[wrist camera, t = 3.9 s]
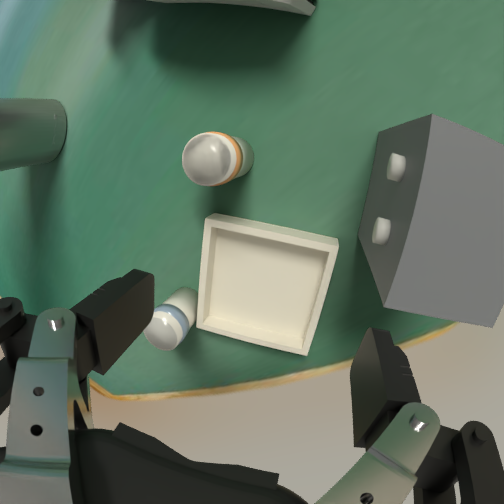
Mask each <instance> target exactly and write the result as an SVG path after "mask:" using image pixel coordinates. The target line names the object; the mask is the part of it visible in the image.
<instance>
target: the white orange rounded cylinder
mask: <svg viewBox="0 0 504 504" xmlns="http://www.w3.org/2000/svg"><path fill="white" fill-rule="evenodd" d="M253 161H254V153H253V150H252V147H251V146H250V144H249V143H248V142H247V141H245V140H244V139H242V138H239V137H234V136H230V135H228V134H225V133H219V132H207V133H202V134H199V135H197V136H195V137H193V138H192V139H191V140H190V141H189V142H188V143H187V145H186V146H185V148H184V151H183V155H182V164H183V168H184V171H185V173H186V175H187V176H188V177H189V178H190V179H191V180H192V181H193V182H195V183H197V184H199V185H203V186H218V185H221V184H224V183H227V182H229V181H231V180H232V179H234V178H237V177H240V176H243V175H244V174H246V173H247V172H248V171H249V170H250V168H251V167H252V165H253Z"/></svg>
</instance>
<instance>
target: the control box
mask: <svg viewBox="0 0 504 504" xmlns="http://www.w3.org/2000/svg"><path fill="white" fill-rule="evenodd" d="M358 237H359V240H360V242H361V245H362V248H363V250H364V253H365V255H366V258H367V261H368V263H369V266H370V269H371V272H372V274H373V277H374V280H375V283H376V286H377V289H378V291H379V294H380V297H381V300H382V303H383V306H384V307H386V308H391V309H395V310H400V311H405V312H410V313H416V314H421V315H426V316H431V317H436V318H442V319H447V320H452V321H458V322H463V323H469V324H475V325H480V326H485V327H491V328H492V327H493V325H494V324H495V322H496V320H497V317H498V315H499V313H500V311H501V309H502V306H503V304H504V145H503V144H501V143H499V142H497V141H495V140H493V139H490V138H488V137H486V136H484V135H482V134H480V133H478V132H476V131H473V130H471V129H469V128H466V127H464V126H462V125H459V124H457V123H454V122H452V121H449V120H447V119H444V118H442V117H439V116H436V115H434V114H430V115H427V116H424V117H421V118H418V119H415V120H412V121H409V122H406V123H403V124H400V125H397V126H394V127H392V128H389V129H386V130H383V131H380V132H379V134H378V141H377V146H376V152H375V157H374V163H373V168H372V173H371V178H370V183H369V188H368V192H367V197H366V201H365V206H364V210H363V214H362V219H361V223H360V227H359V231H358Z"/></svg>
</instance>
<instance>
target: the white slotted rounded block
mask: <svg viewBox="0 0 504 504" xmlns="http://www.w3.org/2000/svg"><path fill="white" fill-rule="evenodd" d="M148 1H155V2H162V3H220V4H235V5H246V6H255V7H263V8H270V9H276V10H282V11H288V12H293V13H298V14H303V15H308V16H311V15H312V13H313V11H314V9H315V8H316V7H315V6H314V5H313V2H312V1H311V0H148Z"/></svg>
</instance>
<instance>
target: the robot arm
mask: <svg viewBox="0 0 504 504" xmlns="http://www.w3.org/2000/svg"><path fill="white" fill-rule="evenodd" d="M66 124H67V122H66V114H65V111H64V108H63V106H62V105H61V103H60V102H59V101H57V100H54V99H33V98H1V99H0V171H5V170H9V169H14V168H19V167H25V166H31V165H36V164H42V163H47V162H51V161H52V160H54V159H55V158H56V156H57V155H58V154H59V152H60V150H61V148H62V146H63V143H64V140H65V135H66ZM153 314H154V276H153V274H151V273H148V272H144V271H141V270H137V269H133V270H131V271H130V272H129V273H127V274H126V275H125V276H123V277H122V278H121V277H119V278H116V279H113V280H111V281H108V282H107V283H105V284H104V285H102V286H101V287H100V289H97V290H95V291H94V292H93V294H90V295H89V296H87V297H86V298H84V299H83V300H82V301H80V302H79V303H78V304H76V305H75V306H74V307H72V308H71V309H70V310H69V309H66V308H59V307H57V308H50V309H47V310H45V311H43V312H42V313H41V314H40V315H39V316H35V315H31V314H26V313H24V309H23V305H22V302H21V301H20V300H19V299H17V298H14V297H5V298H2V299H0V345H1V348H2V350H3V353H4V355H5V357H4V358H3V359H2V360H0V415H1V414H2V413H3V411H4V410H5V409H6V408H7V407H8V406H9V405H10V410H9V417H8V429H7V443H6V447H0V504H308V503H307V502H306V501H305V500H304V499H302V498H301V497H300V496H299V495H297V494H295V493H294V492H292V491H291V490H289V489H287V488H285V487H283V486H281V485H278V484H277V483H278V477H279V474H278V473H272V472H267V471H262V470H258V469H253V468H249V467H245V466H240V465H230V464H216V463H204V462H196V461H192V460H189V459H187V458H185V457H184V456H182V455H181V454H179V453H177V452H176V451H174V450H173V449H171V448H170V447H168V446H167V445H165V444H164V443H162V442H161V441H159V440H158V439H156V438H155V437H152V436H150V435H147V434H145V433H143V432H140V431H138V430H136V429H134V428H131V427H129V426H127V425H125V424H123V423H119V424H118V426H117V427H116V429H115V430H114V431H112V430H106V429H94V425H93V420H92V411H91V399H90V385H89V377H88V374H89V373H90V372H91V370H93V371H95V372H97V373H99V374H101V375H104V374H105V373H106V372H107V371H108V370H109V369H110V367H111V366H112V365H113V364H114V363H115V362H116V361H117V359H118V358H119V357H120V356H121V355H122V354H123V353H124V352H125V350H126V349H127V348H128V347H129V346H130V345H131V344H132V343H133V341H134V340H135V339H136V338H137V337H138V336H139V335H140V334H141V333H142V331H143V330H144V329H145V328H146V327H147V326H148V325H149V324H150V322H151V320H152V317H153ZM412 375H413V374H412V371H411V368H410V365H409V362H408V359H407V356H406V355H405V354H404V352H403V351H402V350H401V349H400V347H399V346H394V344H393V341H392V338H391V335H390V332H389V331H386V330H381V329H376V328H371V327H370V328H368V329H367V331H366V333H365V335H364V338H363V340H362V342H361V344H360V347H359V349H358V351H357V353H356V355H355V358H354V360H353V362H352V366H351V370H350V383H351V396H352V413H353V434H354V447H361V448H366V453H365V454H364V455H363V456H362V458H360V459H359V461H358V462H357V463H356V464H355V465H354V466H353V467H352V468H351V469H350V470H349V471H348V472H347V473H346V474H345V475H344V476H343V477H342V478H341V479H340V480H339V481H338V482H337V483H336V484H335V485H334V486H333V487H332V488H331V489H330V490H329V491H328V492H327V493H326V494H325V495H323V497H321V498H320V499H319V500H318V501H317V502H316V503H314V504H402V503H403V501H404V500H405V498H406V497H407V495H408V494H409V492H410V491H411V489H412V488H413V490H414V504H456V496H455V489H454V484H455V483H456V482H458V481H459V488H460V495H461V504H504V470H503V466H502V463H501V459H500V455H499V452H498V449H497V445H496V442H495V439H494V436H493V434H492V432H491V431H490V429H489V428H488V427H487V426H485V425H484V424H483V423H481V422H478V421H470V422H467V423H466V424H465V425H464V426H463V427H462V428H461V430H460V431H458V430H454V429H451V428H448V427H445V426H442V425H440V420H439V417H438V415H437V414H436V413H435V411H434V410H433V409H431V408H430V407H429V406H427V405H425V404H422V403H421V400H420V396H419V393H418V390H417V387H416V383H415V380H414V377H413V376H412Z"/></svg>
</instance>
